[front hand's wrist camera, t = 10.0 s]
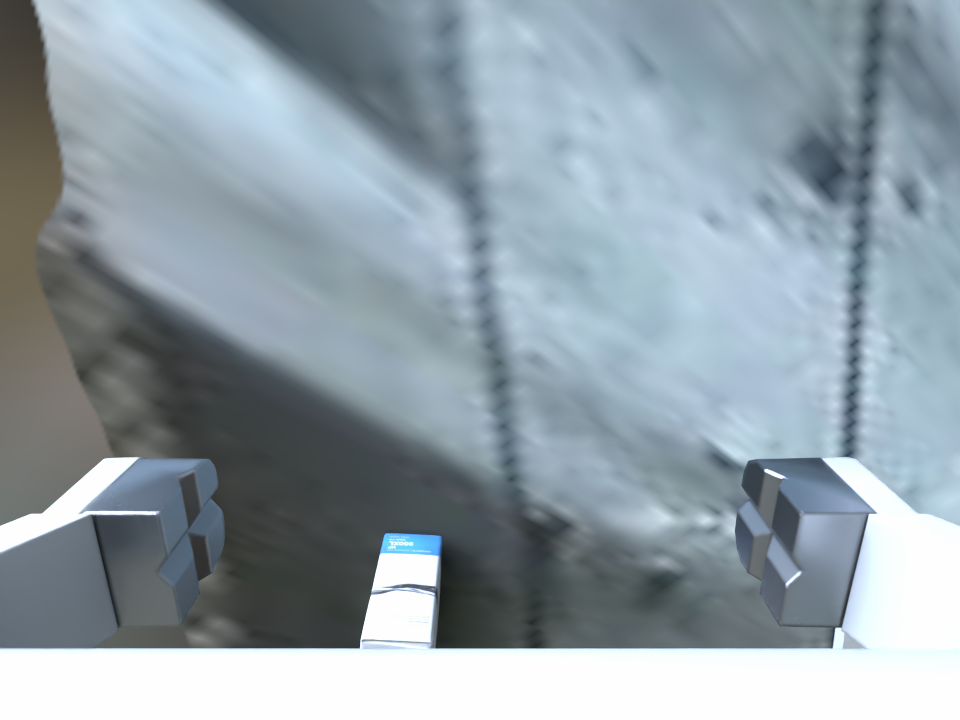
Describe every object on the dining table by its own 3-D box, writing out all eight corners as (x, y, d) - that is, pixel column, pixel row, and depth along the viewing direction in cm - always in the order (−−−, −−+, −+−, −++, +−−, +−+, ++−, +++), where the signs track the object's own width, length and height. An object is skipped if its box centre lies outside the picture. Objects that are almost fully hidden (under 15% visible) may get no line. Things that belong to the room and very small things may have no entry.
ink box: (382, 530, 53) (357, 639, 42) (444, 534, 53) (435, 643, 42) (380, 615, 56) (355, 737, 45) (438, 619, 56) (428, 741, 45)
